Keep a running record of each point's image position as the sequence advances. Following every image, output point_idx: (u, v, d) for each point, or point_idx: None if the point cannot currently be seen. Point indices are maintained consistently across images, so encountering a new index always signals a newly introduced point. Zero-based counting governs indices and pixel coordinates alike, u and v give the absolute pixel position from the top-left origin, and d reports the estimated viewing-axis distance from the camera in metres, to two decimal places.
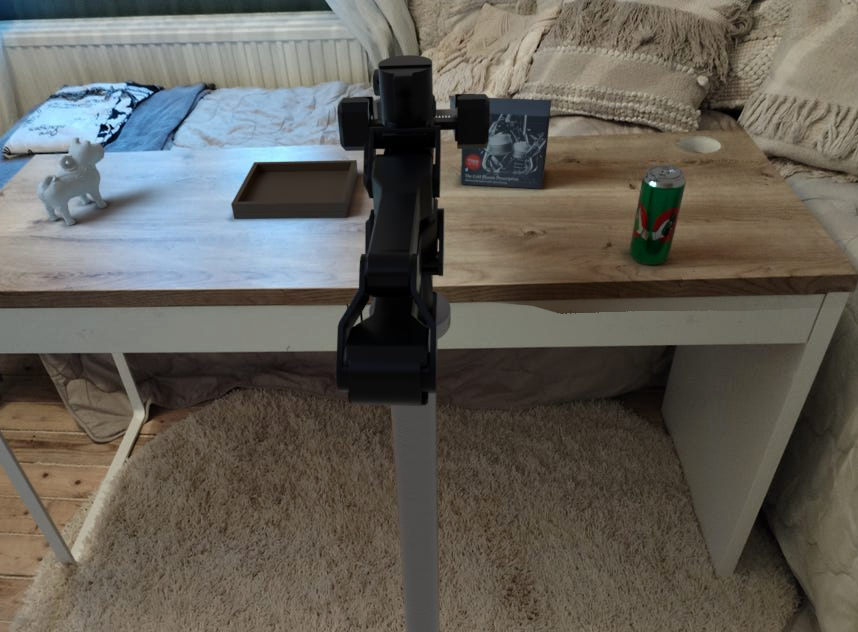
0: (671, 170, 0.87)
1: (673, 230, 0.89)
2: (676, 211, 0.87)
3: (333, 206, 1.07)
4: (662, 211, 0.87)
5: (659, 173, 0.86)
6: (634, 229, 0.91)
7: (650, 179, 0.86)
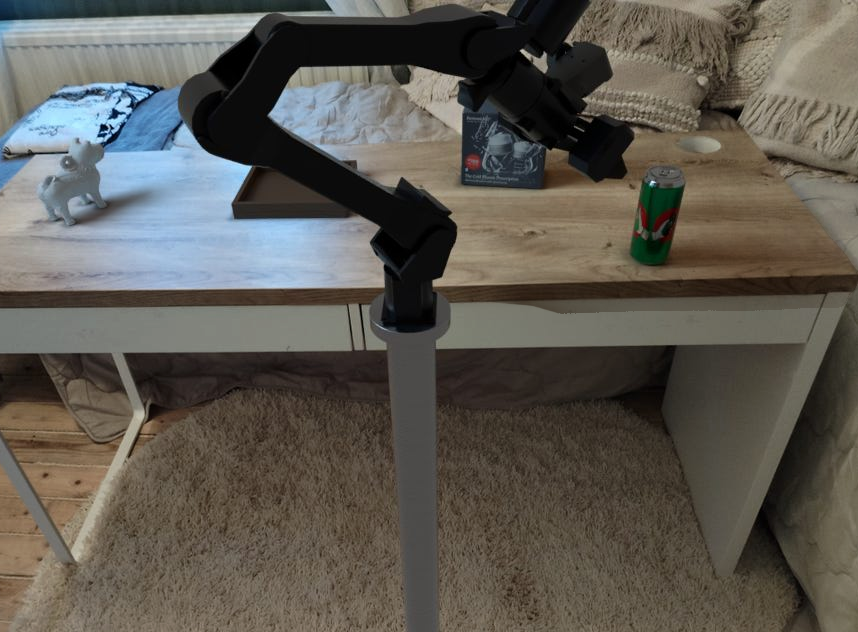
0: (671, 170, 0.87)
1: (673, 230, 0.89)
2: (676, 211, 0.87)
3: (333, 206, 1.07)
4: (662, 211, 0.87)
5: (659, 173, 0.86)
6: (634, 229, 0.91)
7: (650, 179, 0.86)
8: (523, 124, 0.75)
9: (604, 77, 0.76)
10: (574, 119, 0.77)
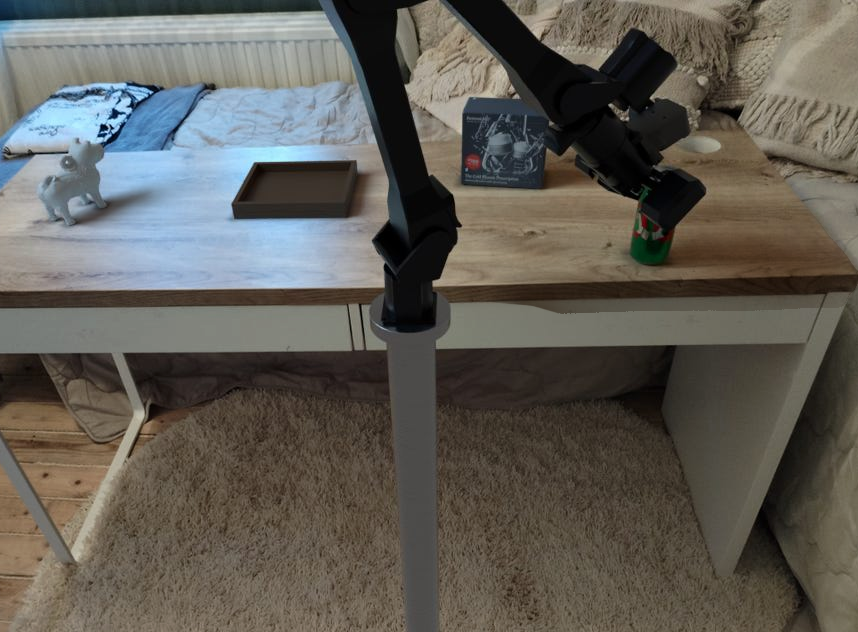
0: None
1: (673, 230, 0.89)
2: None
3: (333, 206, 1.07)
4: None
5: None
6: (634, 229, 0.91)
7: None
8: (602, 170, 0.81)
9: (682, 134, 0.81)
10: (650, 170, 0.82)
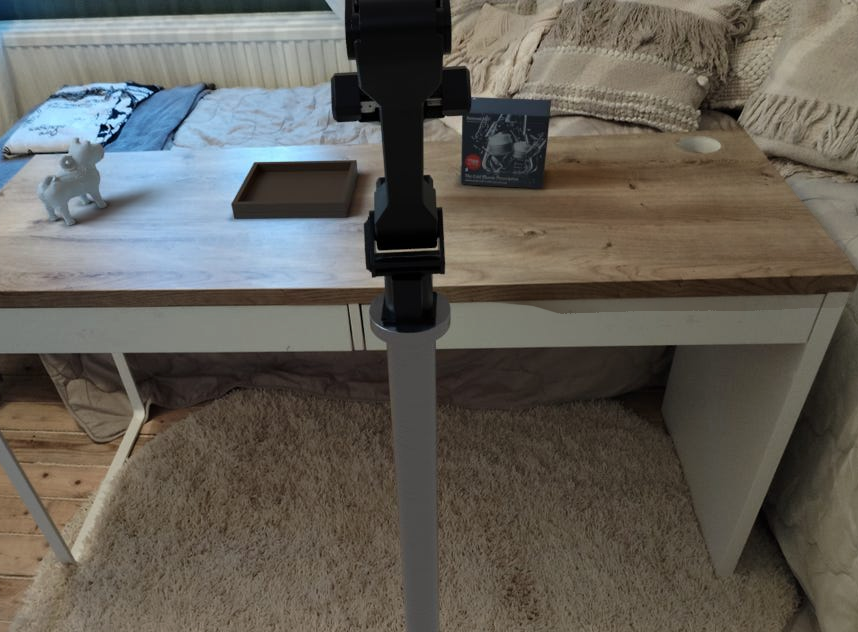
0: None
1: None
2: None
3: (333, 206, 1.07)
4: None
5: None
6: None
7: None
8: None
9: None
10: None
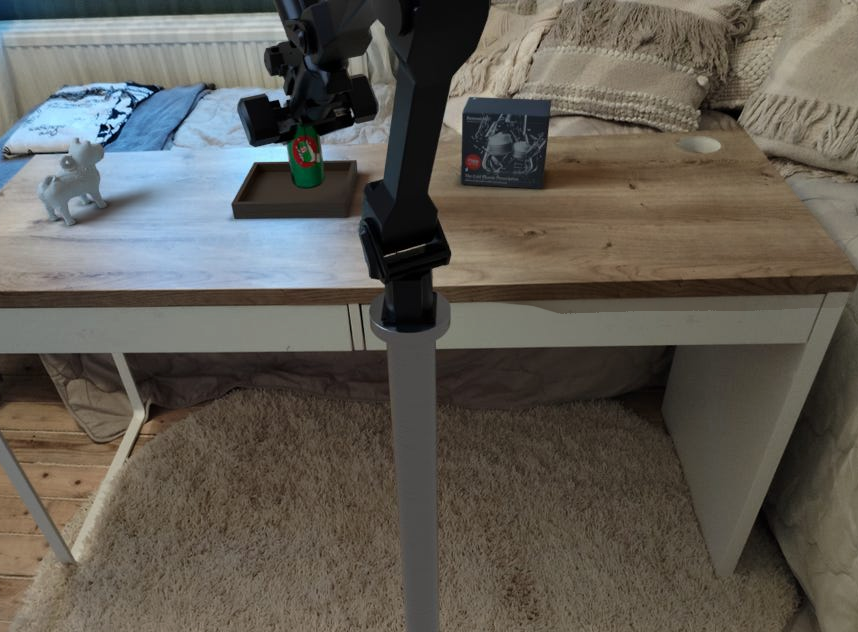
0: None
1: None
2: None
3: (333, 206, 1.07)
4: (319, 130, 1.02)
5: None
6: (305, 162, 1.02)
7: None
8: (338, 99, 0.90)
9: None
10: None
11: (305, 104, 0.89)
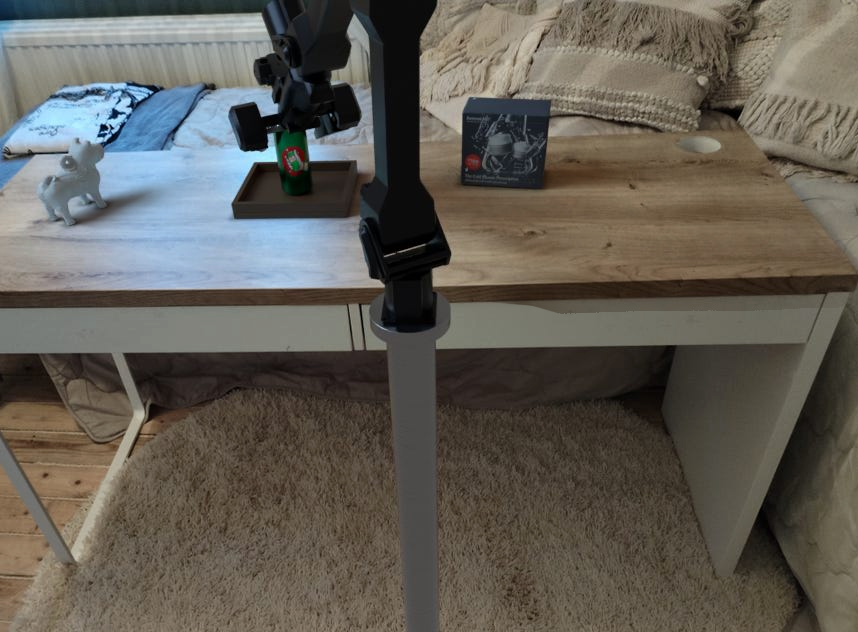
0: None
1: None
2: None
3: (333, 206, 1.07)
4: None
5: None
6: (294, 171, 1.09)
7: None
8: (323, 107, 0.97)
9: None
10: None
11: (291, 112, 0.96)
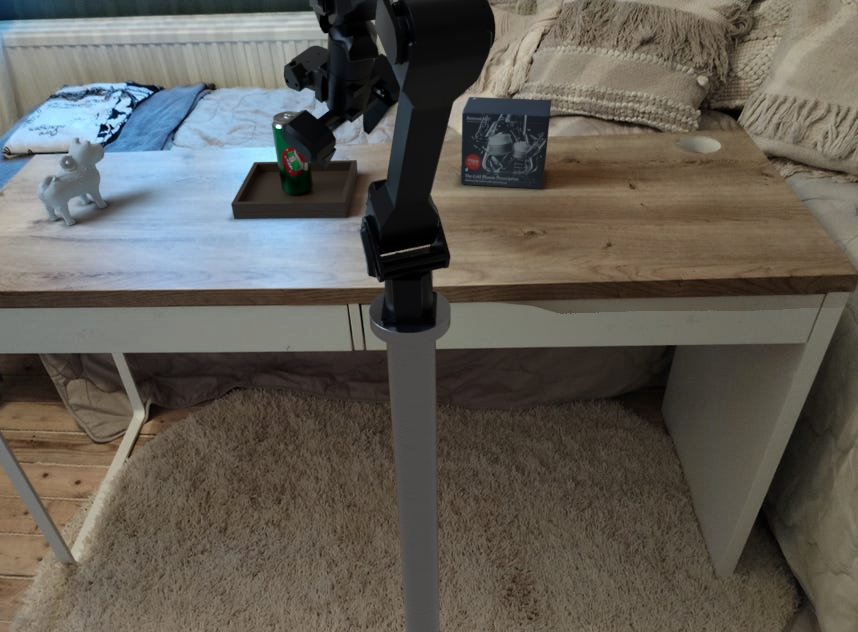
0: (282, 116, 1.07)
1: None
2: None
3: (333, 206, 1.07)
4: None
5: (288, 117, 1.06)
6: (294, 171, 1.09)
7: None
8: (376, 73, 0.86)
9: None
10: None
11: (349, 91, 0.85)
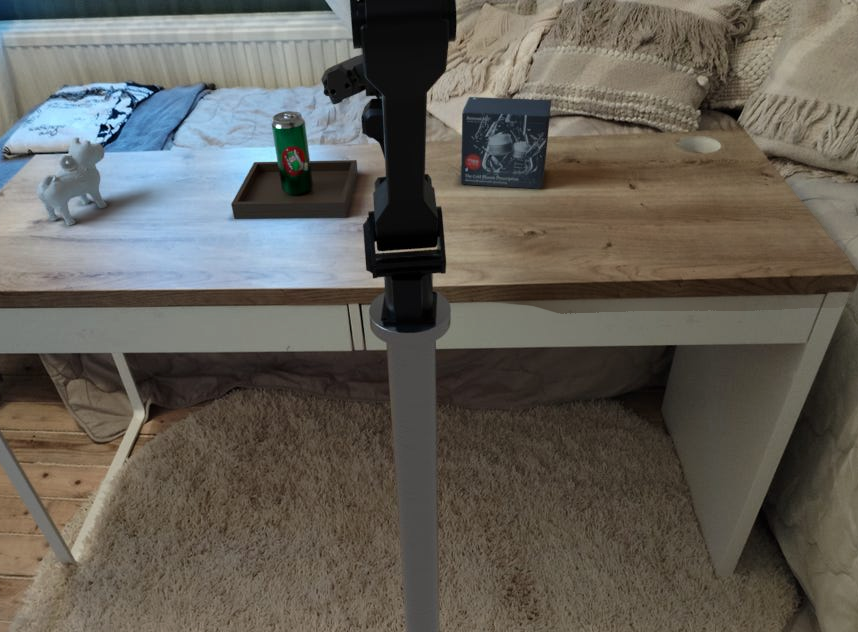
0: (282, 116, 1.07)
1: None
2: None
3: (333, 206, 1.07)
4: None
5: (288, 117, 1.06)
6: (294, 171, 1.09)
7: (292, 123, 1.05)
8: None
9: None
10: None
11: None
